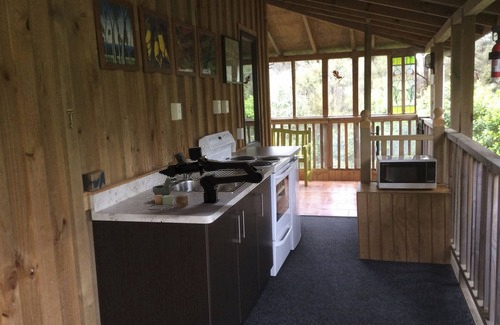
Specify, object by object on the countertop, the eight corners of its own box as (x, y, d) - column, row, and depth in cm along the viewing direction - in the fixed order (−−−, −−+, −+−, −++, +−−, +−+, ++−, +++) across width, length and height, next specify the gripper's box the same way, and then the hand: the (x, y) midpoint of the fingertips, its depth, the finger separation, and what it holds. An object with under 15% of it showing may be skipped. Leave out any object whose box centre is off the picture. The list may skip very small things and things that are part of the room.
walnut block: (188, 205, 224) (187, 195, 223) (185, 207, 219) (184, 197, 219) (179, 205, 225) (179, 195, 224) (176, 207, 220) (175, 197, 220)
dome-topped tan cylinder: (164, 203, 230) (163, 194, 230) (161, 204, 226) (160, 196, 226) (156, 203, 231) (156, 194, 231) (153, 204, 227) (153, 196, 227)
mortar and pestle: (149, 200, 239) (148, 178, 237) (161, 196, 247) (160, 175, 245) (166, 201, 233) (164, 179, 231) (177, 198, 241) (176, 176, 239)
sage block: (174, 202, 231) (173, 195, 230) (173, 204, 226) (172, 197, 225) (164, 203, 231) (163, 195, 230) (163, 205, 226) (162, 197, 225)
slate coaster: (170, 206, 223) (170, 204, 223) (164, 209, 215) (164, 208, 215) (155, 206, 224) (155, 204, 224) (148, 209, 217) (148, 208, 217)
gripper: (194, 150, 237) (166, 154, 240) (182, 153, 219) (152, 157, 222) (197, 171, 238) (169, 175, 241) (186, 175, 219) (156, 179, 222)
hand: (162, 171), depth 231 cm, fingers open, 9 cm apart
